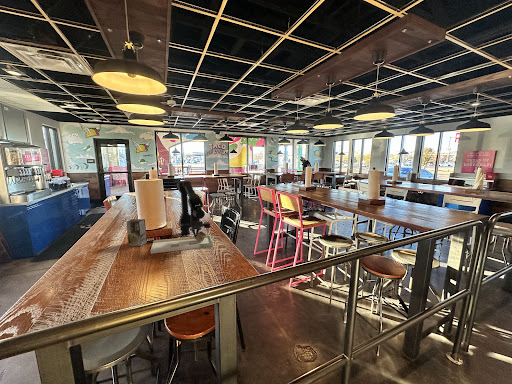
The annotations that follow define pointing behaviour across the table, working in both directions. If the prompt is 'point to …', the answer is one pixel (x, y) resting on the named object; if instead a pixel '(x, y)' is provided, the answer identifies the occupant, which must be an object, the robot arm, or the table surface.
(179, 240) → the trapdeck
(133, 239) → the coffee box
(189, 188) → the robot arm
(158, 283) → the table surface
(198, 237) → the block
